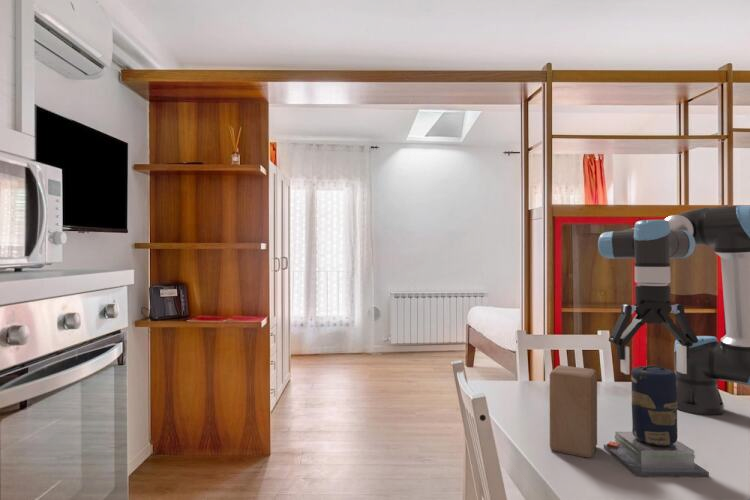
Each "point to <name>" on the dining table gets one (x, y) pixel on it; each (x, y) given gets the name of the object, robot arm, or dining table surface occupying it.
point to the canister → (654, 405)
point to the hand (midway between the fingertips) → (653, 372)
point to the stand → (654, 457)
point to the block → (573, 410)
